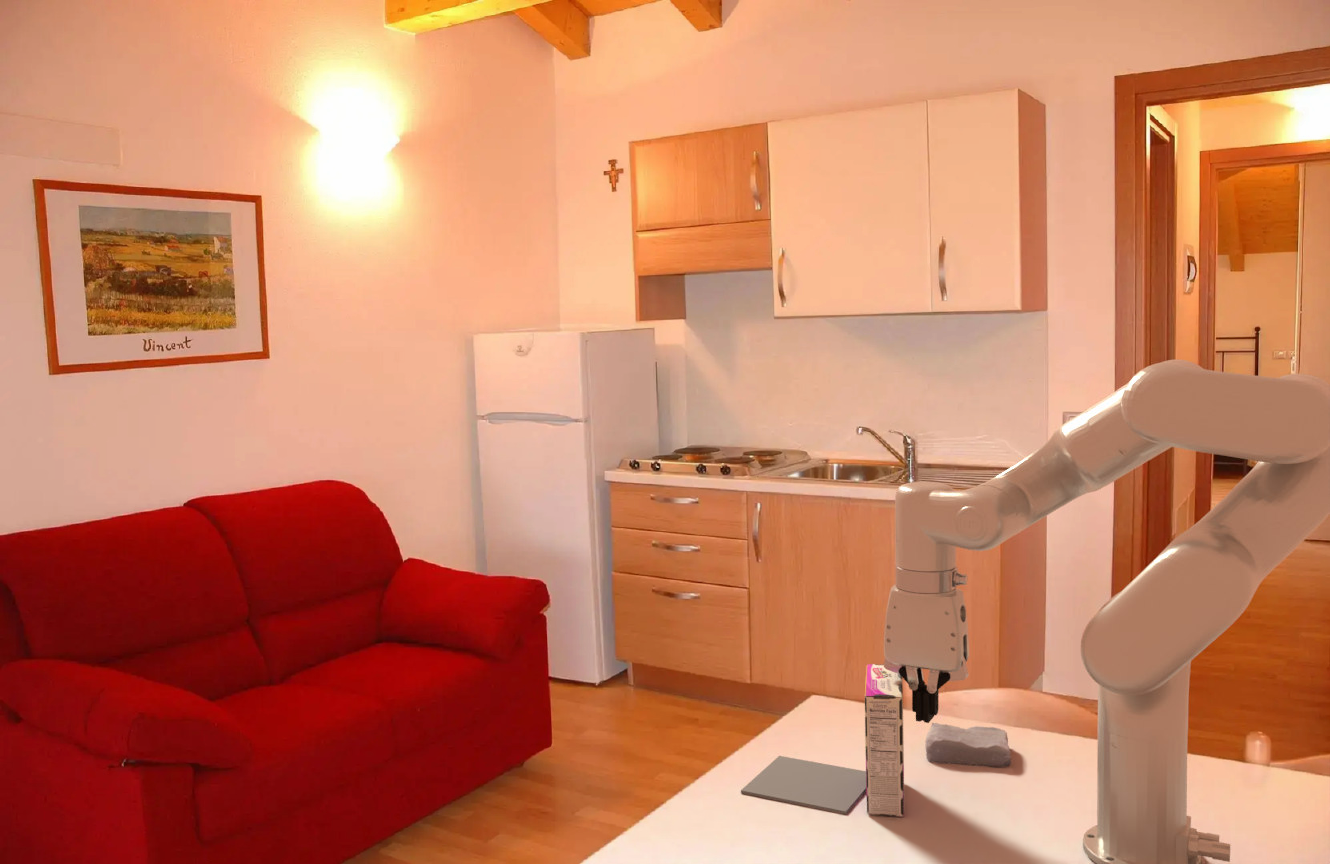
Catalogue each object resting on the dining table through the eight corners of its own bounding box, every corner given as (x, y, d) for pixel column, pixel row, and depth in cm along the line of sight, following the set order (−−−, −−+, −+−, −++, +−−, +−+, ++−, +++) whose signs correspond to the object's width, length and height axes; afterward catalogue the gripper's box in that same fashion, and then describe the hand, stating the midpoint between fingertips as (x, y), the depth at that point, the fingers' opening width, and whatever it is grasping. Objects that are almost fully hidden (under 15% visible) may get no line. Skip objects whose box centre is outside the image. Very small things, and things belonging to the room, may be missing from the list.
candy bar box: (866, 776, 149) (865, 662, 147) (903, 778, 148) (903, 664, 146) (864, 816, 138) (863, 694, 136) (904, 819, 137) (904, 696, 135)
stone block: (926, 751, 163) (924, 764, 154) (927, 718, 164) (925, 729, 154) (1008, 759, 160) (1011, 773, 150) (1009, 727, 160) (1012, 738, 151)
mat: (878, 776, 150) (878, 773, 150) (846, 814, 139) (846, 811, 139) (779, 758, 157) (779, 755, 157) (740, 793, 146) (740, 790, 146)
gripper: (992, 578, 137) (990, 718, 139) (878, 567, 144) (878, 700, 146) (977, 592, 130) (976, 738, 132) (859, 580, 138) (860, 719, 139)
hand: (925, 718), depth 139 cm, fingers closed
